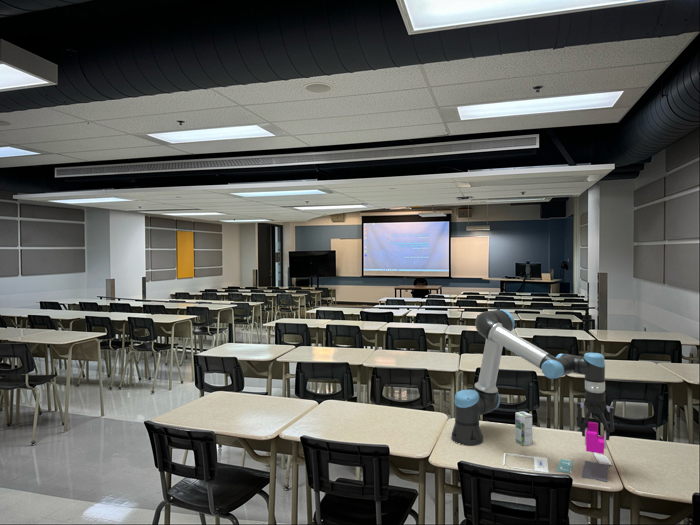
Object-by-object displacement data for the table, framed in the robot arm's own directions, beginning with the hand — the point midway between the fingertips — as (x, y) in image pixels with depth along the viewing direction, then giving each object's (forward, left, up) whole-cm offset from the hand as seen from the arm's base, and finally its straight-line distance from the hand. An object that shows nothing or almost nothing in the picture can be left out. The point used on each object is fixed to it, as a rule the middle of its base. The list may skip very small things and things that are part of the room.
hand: (595, 445), depth 193 cm
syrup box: (-32, +16, -11) cm, 37 cm away
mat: (0, 0, -11) cm, 11 cm away
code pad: (-12, -1, -11) cm, 16 cm away
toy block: (0, 0, 0) cm, 0 cm away
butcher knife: (+1, +15, -11) cm, 18 cm away
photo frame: (-27, -6, -11) cm, 30 cm away
